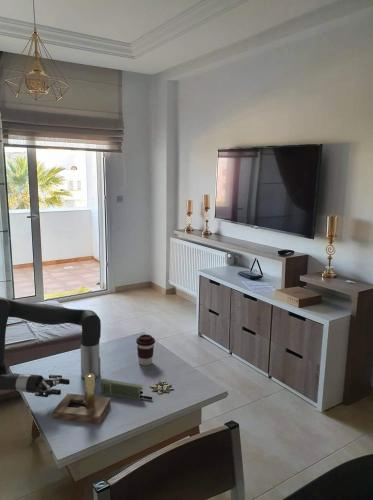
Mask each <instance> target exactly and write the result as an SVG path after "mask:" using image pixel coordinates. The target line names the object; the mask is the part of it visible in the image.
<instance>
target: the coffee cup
mask: <svg viewBox="0 0 373 500" xmlns="http://www.w3.org/2000/svg"><path fill="white" fill-rule="evenodd" d="M135 341H136V343H135V344H137V346H136V347H137V348H136V349H137V357H138V358H137V359H138V364H139V365H140V364H141V366H150V365H151V364H152V363H153V356H154V350H155V346H154V345H155V342H156V338H155V337H153V336H152V335H150V334H141V335H140V336H139V337H138V338H136V340H135ZM149 364H150V365H149Z"/></svg>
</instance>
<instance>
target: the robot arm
mask: <svg viewBox="0 0 373 500" xmlns="http://www.w3.org/2000/svg"><path fill="white" fill-rule="evenodd" d="M9 318H14V319H15V318H16V319H21V320H25V321H27V322H31V323H36V324H41V325H48V326H55V325H56V326H57V325H62V324H71V325H76V326H80V327H81V338H80V376H81V378H83V379H85V375H86V374H90V373H91V374H94V375H95V379H96V378H98V377H101V370H102V369H101V366H102V365H101V362H102V361H101V356H100V352H101V351H100V341H101V337H102V336H101V335H102V334H101V333H102V330H101V329H102V328H101V327H102V325H101V324H102V323H101V321H102V320H101V319H100V316H99V315H98V314H97V312H95V311H93V310H91V309H75V308H68V307H62V306H58V305H57V306H56V305H53V304H48V303H47V304H46V303H38V302H37V303H36V302H22V301H18V300H12V299H8V298H5V297H1V296H0V391H4V390H5V391H6V390H9V391H17V392H21V393H30V394H34V396H35V397H41V398H49V396H53V395H54V396H55V395H56V396H61V394H62V390H61V389H60V388H59V389H58V388H53V387H57V385H60V384H61V385H70V383H71V382H70V378H69V379H68V378H63V375H61V374H49V375H48V377H47V378H44V376H43V375H41V374H40V375H39V374H31V373H30V374H29V373H14V372H11V373H8V372H7V368H6V363H5V358H6V357H5V356H6V355H5V352H6V332H7V324H8V321H9V320H8V319H9ZM7 373H8V374H7Z"/></svg>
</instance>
